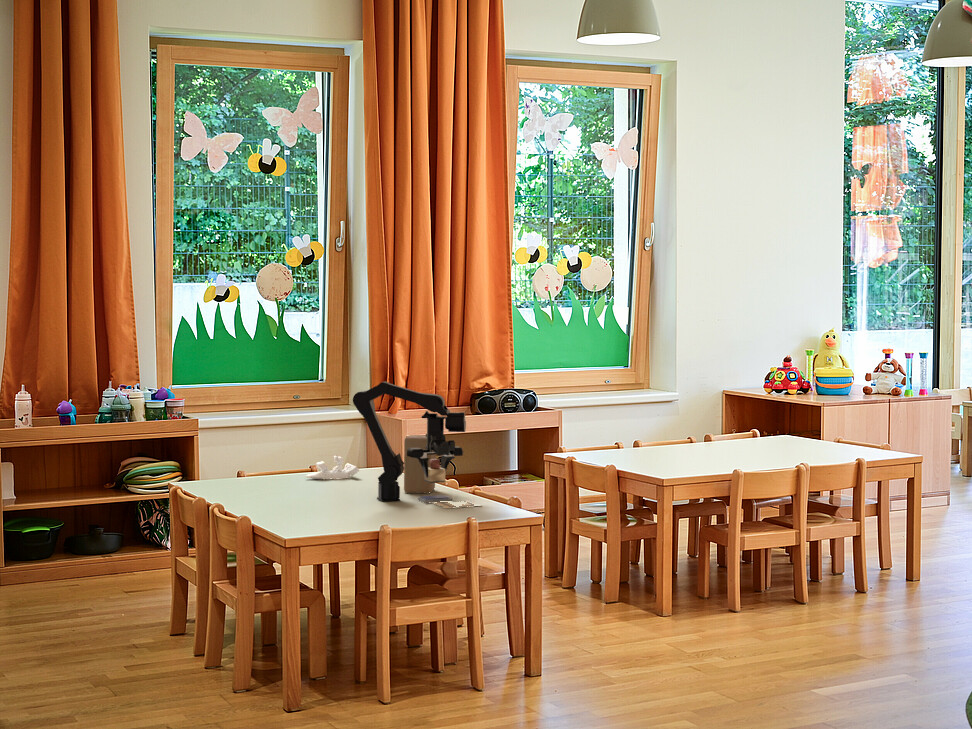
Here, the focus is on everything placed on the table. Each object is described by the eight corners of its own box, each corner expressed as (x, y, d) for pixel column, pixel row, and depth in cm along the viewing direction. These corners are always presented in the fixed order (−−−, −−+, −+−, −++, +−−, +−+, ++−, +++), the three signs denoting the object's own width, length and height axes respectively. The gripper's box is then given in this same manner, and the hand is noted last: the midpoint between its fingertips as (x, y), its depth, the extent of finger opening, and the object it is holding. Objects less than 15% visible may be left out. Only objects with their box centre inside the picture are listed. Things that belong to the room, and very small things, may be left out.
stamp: (430, 483, 386) (430, 460, 386) (424, 480, 391) (424, 459, 391) (445, 482, 388) (445, 460, 388) (439, 480, 393) (439, 458, 393)
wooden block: (435, 489, 416) (435, 435, 415) (431, 494, 406) (431, 438, 405) (408, 489, 417) (408, 434, 416) (403, 493, 407) (403, 437, 406)
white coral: (301, 478, 442) (301, 455, 442) (350, 475, 451) (351, 453, 451) (309, 482, 432) (309, 458, 432) (360, 479, 441) (360, 456, 440)
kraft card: (446, 509, 374) (446, 507, 374) (433, 503, 384) (433, 502, 384) (482, 506, 380) (482, 505, 380) (468, 501, 390) (468, 500, 390)
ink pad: (425, 503, 385) (425, 499, 384) (417, 500, 391) (417, 496, 391) (452, 501, 389) (452, 497, 389) (444, 498, 395) (444, 494, 395)
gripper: (418, 434, 378) (417, 481, 378) (469, 433, 385) (469, 479, 386) (406, 431, 388) (406, 477, 388) (456, 429, 396) (456, 474, 396)
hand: (434, 477), depth 389 cm, fingers closed on stamp, 5 cm apart
